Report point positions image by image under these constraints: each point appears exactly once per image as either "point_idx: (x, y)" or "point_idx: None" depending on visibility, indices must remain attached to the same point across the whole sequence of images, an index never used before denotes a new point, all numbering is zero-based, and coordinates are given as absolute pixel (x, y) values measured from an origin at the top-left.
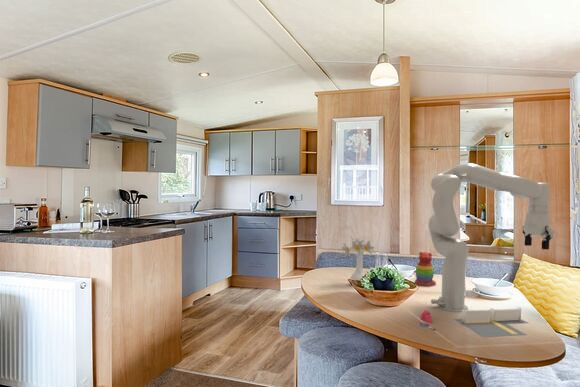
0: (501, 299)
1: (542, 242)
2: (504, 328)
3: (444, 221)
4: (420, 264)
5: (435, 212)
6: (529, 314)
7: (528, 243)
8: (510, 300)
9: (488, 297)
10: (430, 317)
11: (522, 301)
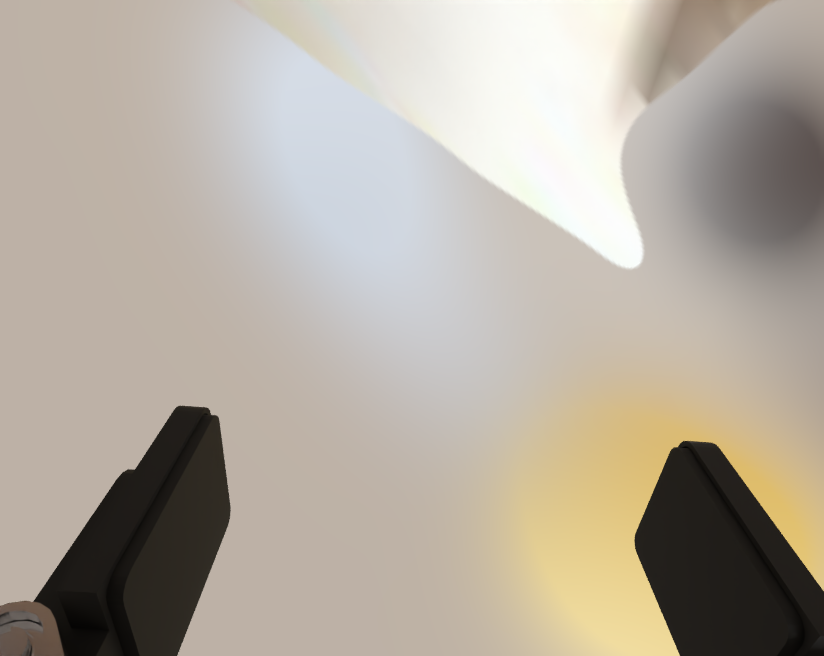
0: (642, 97)
1: (112, 527)
2: None
3: None
4: None
5: None
6: (311, 11)
7: (671, 524)
8: (599, 150)
9: (723, 22)
10: None
11: (553, 219)
